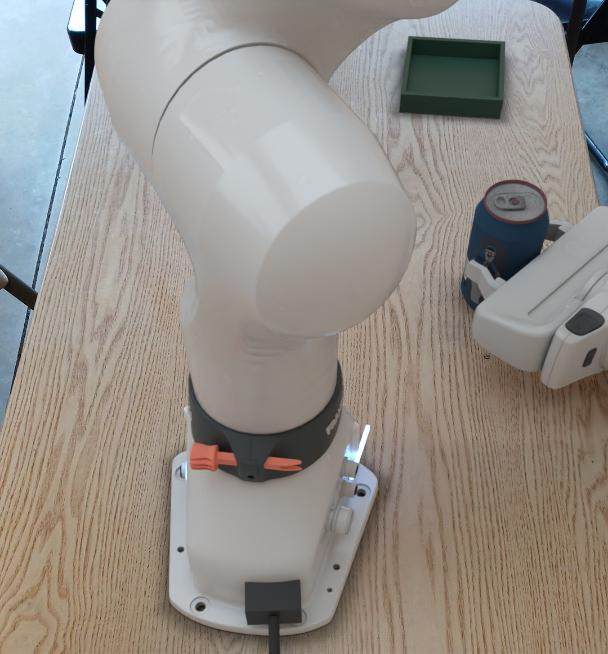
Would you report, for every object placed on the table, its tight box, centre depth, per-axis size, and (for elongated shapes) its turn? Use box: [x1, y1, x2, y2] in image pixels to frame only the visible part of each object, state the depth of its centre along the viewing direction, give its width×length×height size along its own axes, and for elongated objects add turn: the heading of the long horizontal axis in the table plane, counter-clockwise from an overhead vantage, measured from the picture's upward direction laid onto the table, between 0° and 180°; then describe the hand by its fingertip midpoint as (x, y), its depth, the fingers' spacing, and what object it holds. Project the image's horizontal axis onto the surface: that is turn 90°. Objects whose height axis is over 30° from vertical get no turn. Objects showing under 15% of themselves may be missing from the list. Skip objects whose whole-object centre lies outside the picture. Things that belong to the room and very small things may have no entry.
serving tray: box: [398, 35, 506, 120], centre depth 103 cm, size 12×12×2 cm
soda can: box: [460, 179, 551, 312], centre depth 81 cm, size 7×7×12 cm
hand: (496, 243), depth 81 cm, fingers closed on soda can, 7 cm apart
